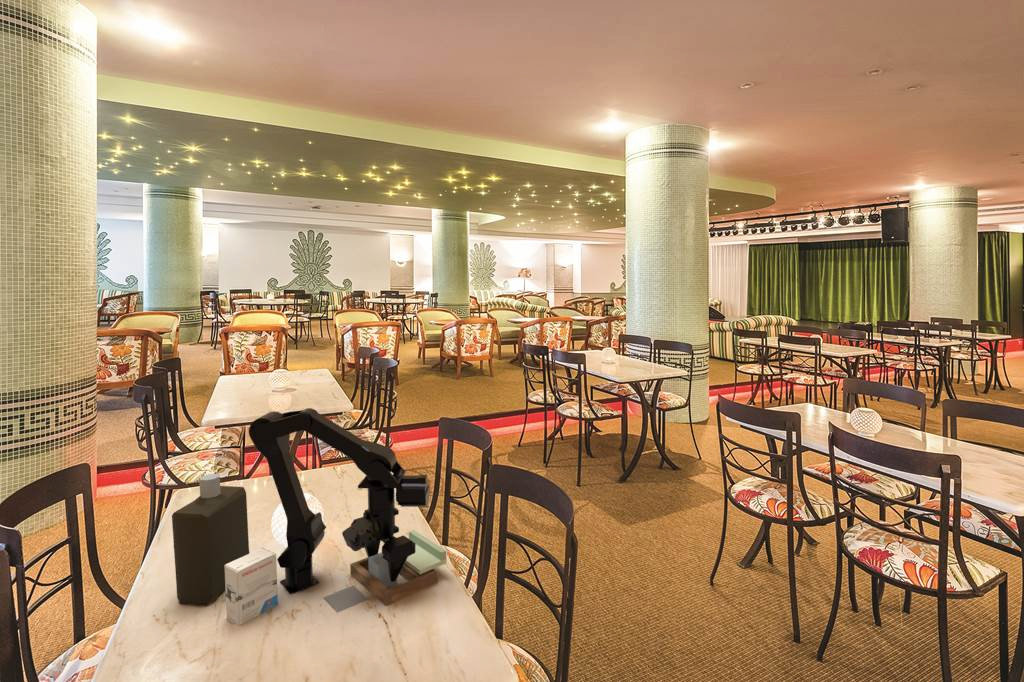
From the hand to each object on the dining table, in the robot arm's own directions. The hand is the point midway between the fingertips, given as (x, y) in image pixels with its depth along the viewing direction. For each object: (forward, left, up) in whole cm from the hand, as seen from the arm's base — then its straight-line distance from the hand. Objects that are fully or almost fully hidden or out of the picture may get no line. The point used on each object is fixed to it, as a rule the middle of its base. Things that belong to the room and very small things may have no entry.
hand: (382, 572), depth 121 cm
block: (0, 0, -2) cm, 2 cm away
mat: (0, -9, -3) cm, 9 cm away
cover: (0, +9, +1) cm, 9 cm away
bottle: (-24, -28, -3) cm, 37 cm away
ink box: (-8, -25, -3) cm, 26 cm away
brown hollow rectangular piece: (0, +3, -3) cm, 4 cm away
